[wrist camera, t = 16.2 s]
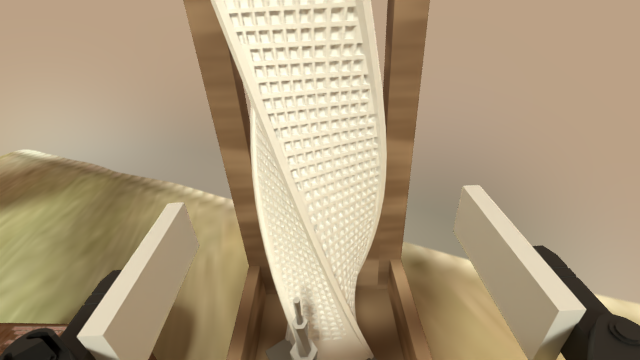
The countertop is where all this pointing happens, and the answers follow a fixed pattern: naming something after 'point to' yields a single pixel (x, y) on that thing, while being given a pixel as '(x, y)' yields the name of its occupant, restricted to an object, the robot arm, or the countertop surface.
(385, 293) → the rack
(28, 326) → the tin
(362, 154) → the skyscraper
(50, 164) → the countertop surface
